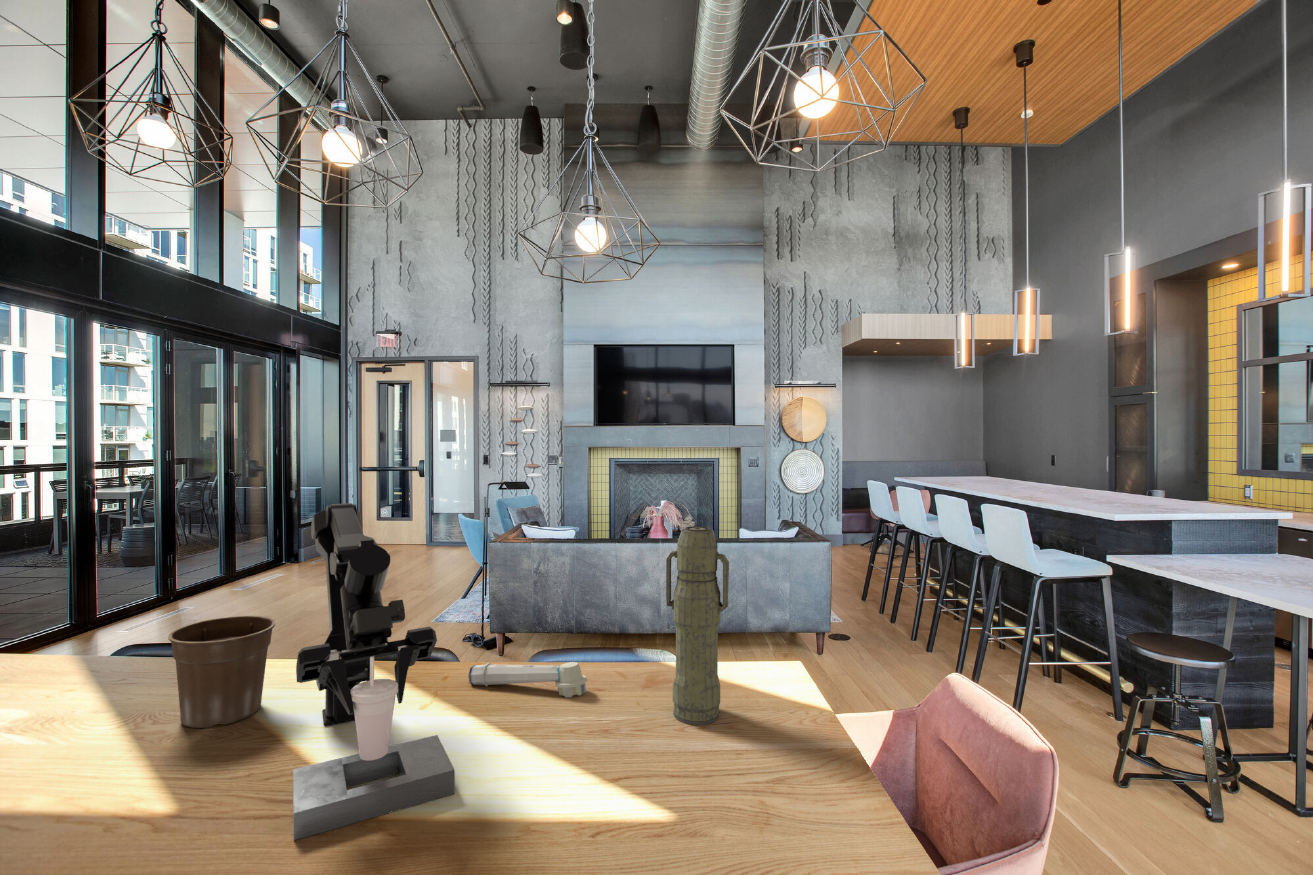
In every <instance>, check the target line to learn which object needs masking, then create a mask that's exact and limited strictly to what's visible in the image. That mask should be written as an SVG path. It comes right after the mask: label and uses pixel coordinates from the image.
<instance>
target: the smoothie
mask: <svg viewBox="0 0 1313 875" xmlns="http://www.w3.org/2000/svg"><path fill="white" fill-rule="evenodd" d="M398 691H399V690H398V683H397V682H396V681H395V680H393V679H391V678H390V679H388V678H375V658H374V656H371V657H370V681H363V682H360V684H358V685H356V686H354V687H353V688H352V689H351V691H350V694H351V698H352V701H353V707H354V715H355V719H354V720H355V721H354V722H355V729H356V736H357V746H358V754H360V758H361V759H362V760H367V761H369V760H376V759H379V758H381V757H383V756H385V755H386V754H387V753H388V747H389V746H390V739H391V731H392V725H393V724H392V723H393V718H394V716H393V715H394V710H395V703H396V702H395V701H396V697H397V695H396V694H397V693H398Z"/></svg>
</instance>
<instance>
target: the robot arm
mask: <svg viewBox="0 0 1313 875" xmlns="http://www.w3.org/2000/svg"><path fill="white" fill-rule="evenodd" d="M357 508H358V507H357V504H353V503H352V502H351V503H349V502H348V503H347V502H346V503H332V504H331V503H330V505H326V507H325V509H324V510H322V511H320V512H318V513H316V514H314V515H313V517H312V520H311V524H310V525H311V526H310V527H311V528H310V532H311V533H310V534H311V535H310V536H311V540H314V542H315V550H316V552H317V553H318V554H319V555H320V556H321V557H322V558H323V559H324V560H325V570H326V571H325V572H326V590H327V591H326V592H327V605H328V607H327V608H328V620H329V621H328V622H329V634H328V636H327V638H326V639H325V642H324V643H323V644H316V645H312V646H311V645H310V646H305V647H302V648H300V650H299V651H298V652H297V658H296V665H295V668H296V670H295V674H296V682H297V683H300V684H302V683H306V682H307V683H308V682H311V681H315V682H316V686H317V689H318V692H321V691H324V690H325V708H324V709H322V710H321V713H322V722H323V723H322V724H323V726H329V725H333V724H339V723H342V722H343V723H344V722H347V721H353V720H355V715H354V707H353V701H352V698H351V694H350V691H351V689H352V688H353V687H354V686H356V685H358V684H360V683H363V682H366V681H370V657H371V656H374V659H376V658H380V657H381V658H382V657H386V656H391V655H393V656H394V655H395V656H396V660H395V664H394V679H395V680H394V681H396V682H397V683H398V690H399V691H398V693H397V694H396V700H397V704H402V703H403V699H404V693H405V688H406V684H407V683H406V681H407V676H408V671H409V667H412V666H414V665H415V664H416V661H420V660H424V659H428V658H430V657H432V654H433V652H434V649H435V646H436V645H437V642H438V639H437V633H436V630H435V629H433V628H432V626H424V627H418V628H412V629H407V631H406V635H405V637H404V639H398V640H393V641H389V638H392V633H393V632H392V628H393V627H394V625H393V624H399V623H402V622H404V620H405V619H406V612H405V611H406V610H405V604H404V600H403V599H396V600H390V602H388V604H387V605H384V604H383V598H382V593H381V591H382V590H383V588H384V585H385V582H386V579H387V575H388V572H389V569H390V568H389V567H390V564H391V555H390V554H389V553H388V551H387V550H386V549H385V548H383V547H381V546H379V545H378V543H377V542H376V540H375V539H374V538H373V537H370V536H367V535H365V534H364V531H363V529H362V518H361V517H362V516H361V515H362V514H361V512H360V511H359V510H358V509H357Z"/></svg>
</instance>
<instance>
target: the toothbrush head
mask: <svg viewBox="0 0 1313 875" xmlns="http://www.w3.org/2000/svg"><path fill="white" fill-rule="evenodd" d="M467 678H468V683H469V684H470V685H471V686H485V687H489V686H491V685H494V686H495V685H509V684H510V685H511V684H512V685H513V684H529V683H548V682H549V683H551V682H555V687H557V690H558V695H559V697H561V696H563V697H564V698H573V696H575V695H576V696H581V695H584V694H585V693H586V692H587V689H586V688H587V686H586V683H587V682H588V679H587V677H586V675H584V674H582V670H581V666H580V664H579V663H578V662H576V661H569V662H566V663H565V662H564V663H561V664H560V665H555V664H554V665H548V664H546V665H545V664H543V665H542V664H492V663H491V662H487V663H486V664H477V665H472V666H471V667H470V668H469V671H468V677H467ZM488 685H489V686H488Z"/></svg>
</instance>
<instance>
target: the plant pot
mask: <svg viewBox="0 0 1313 875" xmlns="http://www.w3.org/2000/svg"><path fill="white" fill-rule="evenodd" d="M275 626H276V621H275V619H274V618H272V617H267V616H262V615H237V616H236V615H235V616H226V617H219V618H212V619H210V618H209V619H205V620H202V621H201V620H200V621H197V622H194V623H190V624H187V625H185V626H182V627H178V628H176V629H175V630H173V631H171V632H170V633H169V634H168V635H167V638H168V641H169V642H170V643H171V648H172V649H171V650H172V657H173V658H172V659H174V660H175V669H176V680H177V690H178V691H177V692H178V701H179V702H178V704H179V705H178V706H179V713H180V714H179V716H180V717H179V718H180V723H181V724H182V725H183V726H185V727H189V728H193V729H206V728H207V729H208V728H212V727H214V726H215V725H219V724H222V725H224V726H227V725H230V724H233V723H236V722H239V721H242V720H244V719H246V718H247V719H248V718H249V717H251V716H252V715H254V714H256V713H257V712H258V711H259V709H260V708H261V705H262V700H263V699H262V697H263V692H264V691H263V689H264V682H265V674H266V665H267V658H268V656H267V655H268V648H269V646H270V645H271V642H272V641H271V640H272V635H273V634H272V633H273V629H274V628H275Z"/></svg>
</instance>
